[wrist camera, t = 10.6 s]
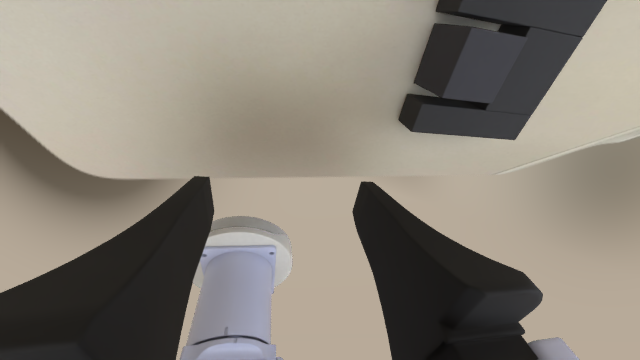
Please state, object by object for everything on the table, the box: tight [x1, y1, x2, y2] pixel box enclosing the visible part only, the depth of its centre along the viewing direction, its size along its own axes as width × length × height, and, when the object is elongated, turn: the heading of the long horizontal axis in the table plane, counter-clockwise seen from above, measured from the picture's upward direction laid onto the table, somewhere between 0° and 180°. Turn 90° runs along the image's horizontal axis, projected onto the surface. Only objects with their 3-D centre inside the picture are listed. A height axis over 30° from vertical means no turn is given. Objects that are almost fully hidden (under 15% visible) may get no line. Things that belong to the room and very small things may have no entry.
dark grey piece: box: [399, 0, 607, 140], centre depth 18 cm, size 10×10×2 cm
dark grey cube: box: [414, 23, 528, 104], centre depth 17 cm, size 4×4×4 cm
